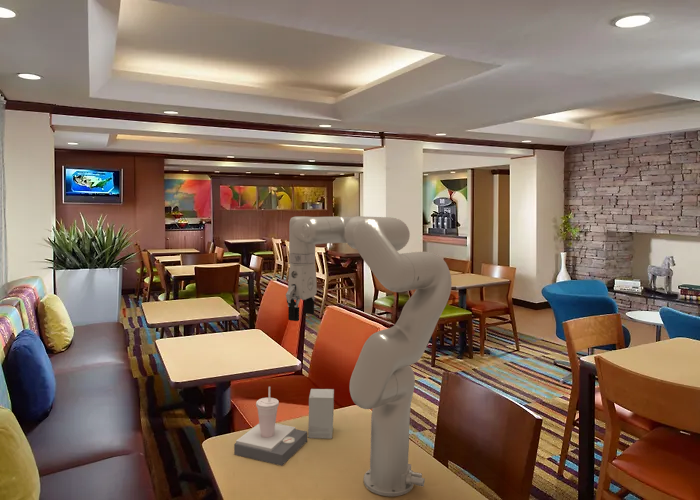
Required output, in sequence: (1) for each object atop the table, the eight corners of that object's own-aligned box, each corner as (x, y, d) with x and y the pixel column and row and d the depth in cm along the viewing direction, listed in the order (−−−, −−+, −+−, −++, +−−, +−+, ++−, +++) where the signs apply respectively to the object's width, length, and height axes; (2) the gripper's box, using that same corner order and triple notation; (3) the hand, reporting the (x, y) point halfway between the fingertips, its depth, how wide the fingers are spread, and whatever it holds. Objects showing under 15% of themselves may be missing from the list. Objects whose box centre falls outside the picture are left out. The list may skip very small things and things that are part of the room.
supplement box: (332, 439, 151) (333, 398, 150) (307, 438, 151) (308, 397, 150) (333, 427, 158) (334, 388, 157) (309, 427, 158) (310, 388, 157)
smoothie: (274, 440, 141) (274, 392, 139) (252, 438, 142) (252, 389, 141) (281, 430, 147) (282, 384, 146) (260, 428, 148) (261, 381, 147)
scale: (307, 441, 149) (307, 428, 149) (282, 465, 135) (282, 452, 135) (262, 431, 154) (262, 419, 154) (234, 454, 141) (234, 441, 140)
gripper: (300, 263, 138) (299, 325, 140) (326, 256, 154) (325, 312, 156) (275, 261, 141) (275, 322, 142) (303, 255, 157) (303, 309, 158)
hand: (301, 316), depth 149 cm, fingers open, 9 cm apart
